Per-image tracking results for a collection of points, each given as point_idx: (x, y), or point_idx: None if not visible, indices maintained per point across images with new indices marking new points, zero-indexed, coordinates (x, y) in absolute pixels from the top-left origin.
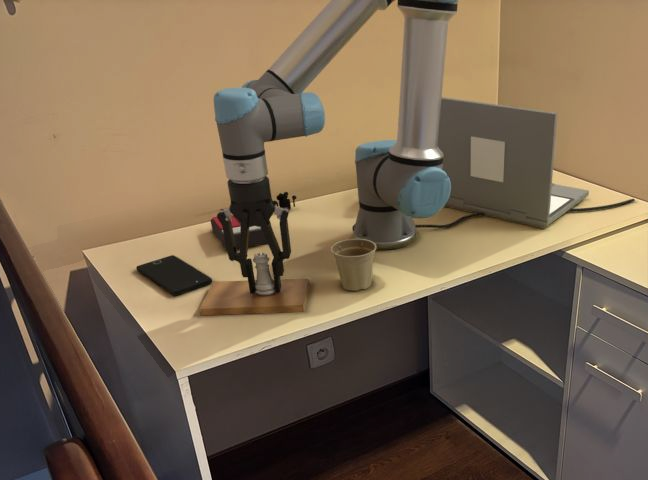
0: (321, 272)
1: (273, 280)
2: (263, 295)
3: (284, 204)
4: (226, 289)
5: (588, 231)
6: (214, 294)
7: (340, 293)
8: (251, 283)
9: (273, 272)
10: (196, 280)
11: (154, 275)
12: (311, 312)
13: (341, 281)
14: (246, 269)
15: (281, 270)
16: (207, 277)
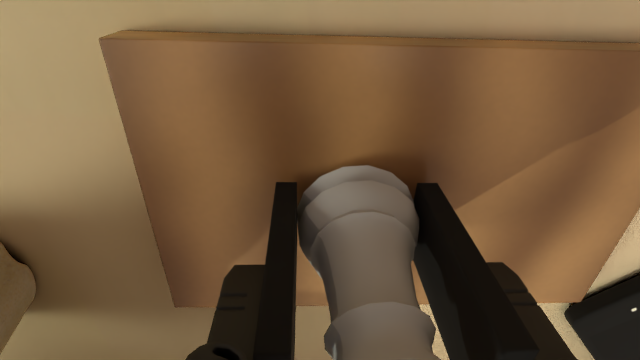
0: (167, 350)
1: (311, 258)
2: None
3: None
4: (540, 243)
5: None
6: (606, 204)
7: (6, 208)
8: (442, 221)
9: (288, 278)
10: (632, 316)
11: None
12: (69, 14)
13: (3, 277)
14: (509, 304)
15: (229, 299)
16: (586, 331)
